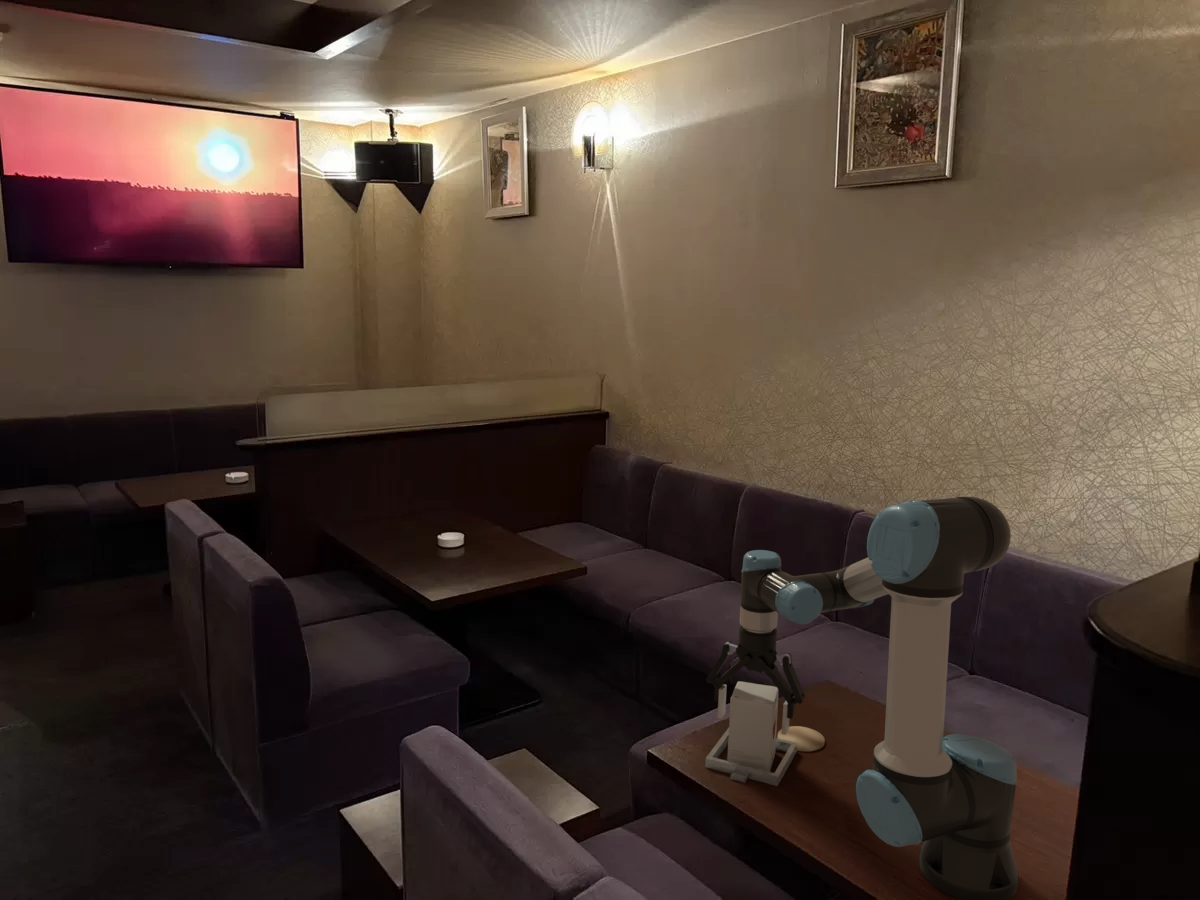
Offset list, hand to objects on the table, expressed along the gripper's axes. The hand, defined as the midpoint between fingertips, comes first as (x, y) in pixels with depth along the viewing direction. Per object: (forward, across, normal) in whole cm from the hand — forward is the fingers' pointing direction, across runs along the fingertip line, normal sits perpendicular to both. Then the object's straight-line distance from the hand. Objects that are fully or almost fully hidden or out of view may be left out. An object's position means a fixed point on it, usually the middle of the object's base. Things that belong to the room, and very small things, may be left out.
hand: (752, 723), depth 181 cm
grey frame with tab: (+8, 0, 0) cm, 8 cm away
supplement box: (+8, 0, 0) cm, 8 cm away
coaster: (+8, -7, -13) cm, 17 cm away
